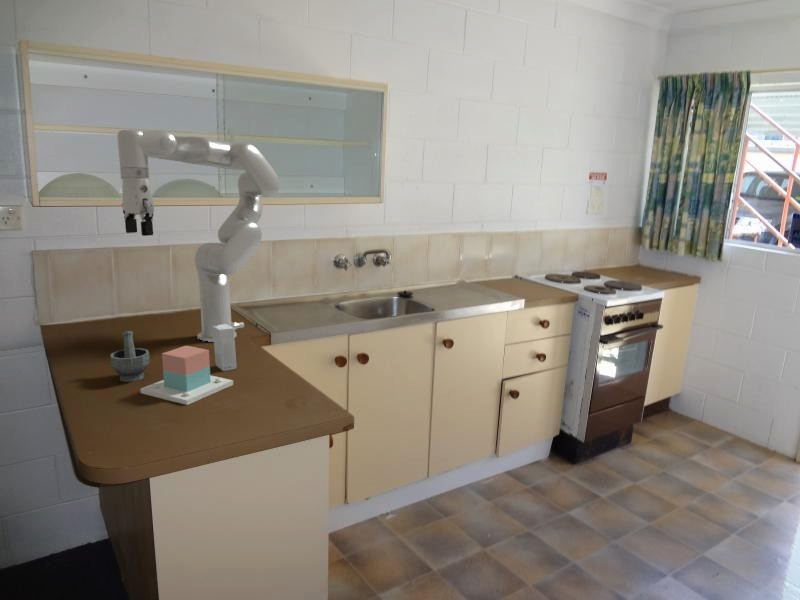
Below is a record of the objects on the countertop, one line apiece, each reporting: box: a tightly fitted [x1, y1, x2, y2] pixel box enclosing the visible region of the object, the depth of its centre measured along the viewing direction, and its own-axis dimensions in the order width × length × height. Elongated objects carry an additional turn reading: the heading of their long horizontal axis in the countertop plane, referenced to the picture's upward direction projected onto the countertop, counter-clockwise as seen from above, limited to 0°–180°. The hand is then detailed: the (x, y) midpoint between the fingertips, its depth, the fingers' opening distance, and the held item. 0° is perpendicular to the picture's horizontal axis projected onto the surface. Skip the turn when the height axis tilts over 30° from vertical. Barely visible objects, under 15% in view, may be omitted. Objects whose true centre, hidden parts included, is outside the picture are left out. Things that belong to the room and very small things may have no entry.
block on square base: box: [139, 345, 234, 406], centre depth 156 cm, size 16×16×10 cm
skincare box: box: [213, 324, 237, 372], centre depth 173 cm, size 6×4×12 cm
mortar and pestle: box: [110, 330, 150, 383], centre depth 164 cm, size 11×9×12 cm
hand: (139, 233), depth 179 cm, fingers open, 9 cm apart
